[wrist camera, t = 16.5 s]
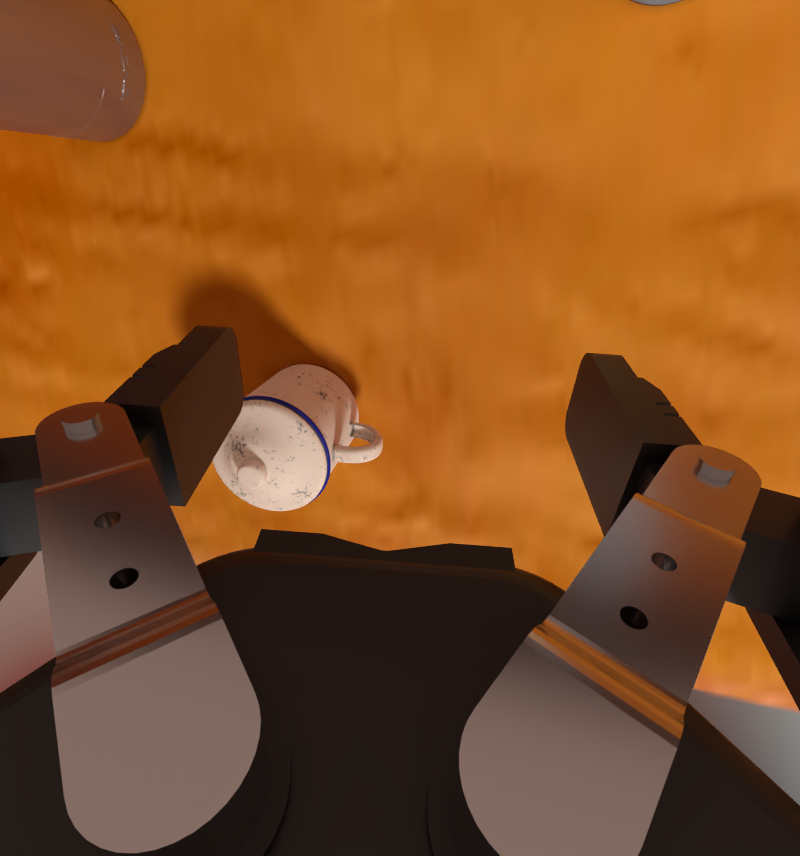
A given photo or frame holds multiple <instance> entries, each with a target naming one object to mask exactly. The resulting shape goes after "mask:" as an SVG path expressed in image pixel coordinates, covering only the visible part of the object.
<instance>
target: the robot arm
mask: <svg viewBox="0 0 800 856" xmlns="http://www.w3.org/2000/svg"><path fill="white" fill-rule="evenodd" d="M144 93H145V69H144V65H143V60H142V55H141V51H140V48H139V46H138V43H137V40H136V37H135V35H134V33H133V31H132V30H131V28H130V26H129V24H128V22H127V20H126V19H125V18H124V16H123V15H122V14H121V13H120V11H119V10H118V9H117V7H116V6H115V5H114V4H112V3H111V2H110V1H109V0H0V129H1V130H9V131H17V132H25V133H34V134H42V135H49V136H56V137H64V138H73V139H81V140H90V141H101V142H105V141H110V140H115V139H116V138H118V137H120V136H122V135H124V134H125V133H126V132H127V131H128V130H129V129H130V128H131V127H132V126H133V125H134V123H135V121H136V119H137V118H138V116H139V114H140V111H141V108H142V105H143V101H144ZM142 366H143V367H142V368H139V369H138V370H137V371H136V372H135V373H134V374H133V377H130V378H129V379H128V380H127V381H126V382H124V383H123V384H122V385H121V386H120V387H119V388H118V389H117V390H116V391H115V392H114V393H113V394H112V395H111V396H110V397H109V398H108V399H107V400H106V401H105V402H90V403H82V404H77V405H73V406H70V407H67V408H64V409H61V410H59V411H56V412H54V413H53V414H51V415H49V416H48V417H46V418H45V419H43V420H42V421H41V422H40V423H39V425H38V426H37V428H36V430H35V435H29V436H19V437H10V438H1V439H0V601H1V599H2V598H3V597H4V596H5V594H6V593H7V592H8V590H9V589H10V588H11V587H12V585H13V584H14V583H15V581H16V580H17V579H18V577H19V576H20V575H21V574H22V572H23V571H24V570H25V568H26V567H27V566H28V564H29V563H30V562H31V561H32V559H33V558H34V557H35V555H36V553H37V552H38V551H42V555H43V562H44V570H45V578H46V585H47V593H48V601H49V608H50V616H51V623H52V631H53V638H54V646H55V654H56V657H55V658H53V659H51V660H50V661H48V662H47V663H45V664H44V665H42V666H41V667H39V668H38V669H36V670H35V671H33V672H32V673H30V674H29V675H27V676H26V677H24V678H23V679H21V680H19V681H18V682H16V683H15V684H13V685H12V686H10V687H9V688H7V689H6V690H4V691H3V692H1V693H0V856H800V806H799V805H798V804H797V803H796V802H795V801H794V800H793V799H792V798H791V797H790V796H789V795H788V794H786V793H785V792H784V791H783V790H782V789H781V788H780V787H779V786H778V785H777V784H776V783H775V782H773V781H772V780H771V779H770V778H769V777H768V776H767V775H766V774H765V773H764V772H763V771H762V770H761V769H760V768H758V767H757V766H756V765H755V764H754V763H753V762H752V761H751V760H750V759H749V758H748V757H746V755H744V754H743V753H742V752H741V751H740V750H739V749H738V748H737V747H736V746H735V745H734V744H732V743H731V742H730V741H729V740H728V739H727V738H726V737H725V736H724V735H723V734H722V733H721V732H720V731H719V730H717V729H716V728H715V727H714V726H713V725H712V724H711V723H710V722H709V721H708V720H707V719H706V718H704V717H703V716H702V715H701V714H700V713H699V712H698V711H697V710H696V709H695V708H694V707H693V706H691V705H690V704H689V703H688V701H689V698H690V695H691V692H692V690H693V687H694V684H695V682H696V679H697V676H698V673H699V671H700V668H701V665H702V663H703V660H704V657H705V654H706V652H707V649H708V646H709V644H710V641H711V638H712V635H713V633H714V630H715V627H716V625H717V622H718V619H719V616H720V614H721V611H722V608H723V605H724V603H725V601H728V602H731V603H734V604H737V605H741V606H744V607H745V608H746V610H747V612H748V614H749V616H750V618H751V620H752V622H753V624H754V626H755V627H756V629H757V631H758V633H759V635H760V637H761V639H762V641H763V643H764V644H765V646H766V648H767V650H768V652H769V654H770V656H771V658H772V659H773V661H774V663H775V665H776V667H777V669H778V671H779V673H780V674H781V676H782V678H783V680H784V682H785V684H786V686H787V688H788V690H789V691H790V693H791V695H792V697H793V699H794V701H795V703H796V705H797V706H798V708H799V710H800V498H799V497H795V496H791V495H787V494H783V493H779V492H775V491H771V490H768V489H764V488H761V479H760V477H759V475H758V473H757V472H756V471H755V470H754V469H753V468H752V467H751V466H750V465H749V464H747V463H746V462H745V461H743V460H741V459H740V458H738V457H736V456H734V455H732V454H730V453H728V452H726V451H723V450H720V449H717V448H713V447H709V446H704V445H702V444H701V443H700V441H699V440H698V439H697V437H696V436H695V435H694V433H693V432H692V431H691V429H690V428H689V427H688V425H687V424H686V423H685V421H684V420H683V419H682V418H681V417H679V414H678V412H677V411H676V410H675V408H674V407H673V406H671V403H670V402H669V400H668V399H667V398H666V396H665V395H664V394H663V392H662V391H661V390H660V389H658V388H657V387H655V386H654V385H652V384H651V383H649V382H648V381H647V380H645V379H644V378H638V377H637V376H636V374H635V373H634V372H633V370H632V369H631V367H630V366H629V365H628V363H627V362H626V360H625V359H624V358H623V356H621V355H610V354H595V353H587V354H585V355H584V357H583V359H582V361H581V364H580V367H579V371H578V374H577V378H576V381H575V385H574V389H573V392H572V396H571V399H570V403H569V407H568V410H567V414H566V422H565V432H566V438H567V441H568V443H569V446H570V448H571V451H572V454H573V456H574V459H575V461H576V464H577V467H578V469H579V472H580V475H581V477H582V480H583V482H584V485H585V488H586V490H587V493H588V495H589V498H590V501H591V503H592V506H593V509H594V511H595V514H596V516H597V519H598V522H599V524H600V527H601V529H602V532H603V535H604V538H603V540H602V541H601V543H600V544H599V545H598V547H597V548H596V550H595V551H594V552H593V554H592V555H591V557H590V558H589V559H588V561H587V562H586V564H585V565H584V567H583V568H582V569H581V571H580V572H579V574H578V575H577V576H576V578H575V579H574V581H573V582H572V583H571V585H570V586H569V588H568V589H567V590H566V591H564V590H563V589H561V588H559V587H558V586H556V585H554V584H553V583H551V582H549V581H547V580H545V579H543V578H541V577H539V576H537V575H534V574H532V573H529V572H527V571H524V570H521V569H518V568H515V565H514V559H513V553H512V548H505V547H492V546H478V545H465V544H452V543H449V544H441V545H433V546H425V547H417V548H409V549H401V550H393V551H382V550H378V549H374V548H371V547H367V546H364V545H360V544H357V543H353V542H350V541H346V540H343V539H339V538H336V537H332V536H329V535H325V534H319V533H306V532H293V531H279V530H266V529H261V532H260V534H259V537H258V539H257V542H256V544H255V547H254V548H250V549H244V550H240V551H235V552H231V553H228V554H225V555H221V556H218V557H215V558H213V559H211V560H208V561H206V562H203V563H201V564H199V565H197V566H196V564H195V562H194V560H193V558H192V555H191V553H190V551H189V548H188V546H187V544H186V541H185V539H184V537H183V535H182V532H181V530H180V528H179V525H178V523H177V521H176V518H175V516H174V514H173V511H172V509H171V507H170V505H173V506H186V504H187V502H188V501H189V499H190V497H191V496H192V494H193V492H194V491H195V489H196V487H197V486H198V484H199V482H200V480H201V479H202V477H203V475H204V474H205V472H206V470H207V469H208V467H209V465H210V464H211V462H212V460H213V459H214V457H215V455H216V453H217V452H218V450H219V448H220V447H221V445H222V443H223V442H224V440H225V438H226V437H227V435H228V433H229V432H230V430H231V428H232V426H233V425H234V423H235V421H236V420H237V418H238V416H239V415H240V412H241V410H242V405H243V397H244V391H243V383H242V375H241V368H240V361H239V354H238V347H237V340H236V336H235V333H234V331H233V329H232V328H227V327H212V326H196V327H195V328H194V329H193V330H192V331H191V332H190V333H189V334H188V335H187V336H186V337H185V338H184V339H183V340H182V341H181V342H180V343H179V344H178V345H172V346H170V347H168V348H166V349H164V350H162V351H160V352H157V353H155V354H154V355H153V356H152V357H151V358H150V359H149V360H148V361H146V362H145V363H144V364H143V365H142Z"/></svg>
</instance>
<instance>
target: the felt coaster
mask: <svg viewBox="0 0 800 856" xmlns="http://www.w3.org/2000/svg"><path fill="white" fill-rule="evenodd" d="M631 1H633V2H635V3H639V4H643V5H650V6H660V5H668V4H673V3H676V2H679V1H682V0H631Z"/></svg>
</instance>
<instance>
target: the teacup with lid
mask: <svg viewBox="0 0 800 856" xmlns="http://www.w3.org/2000/svg"><path fill="white" fill-rule="evenodd" d="M354 437H356V438H361V439H365V440H367V441H369V442H370V444H368V445H365V446H360V447H348V446H349V445H350V443H351V442H352V440H353V438H354ZM382 446H383V440H382V436H381V434H380V433H379V431H378V430H377V429H375V428H374V427H372V426H369V425H366V424H362V423H359V412H358V407H357V403H356V401H355V398H354V396H353V394H352V392H351V391H350V389H349V388H348V386H347V385H346V384H345V383H344V382H343V381H342V380H341V379H340V378H339V377H338V376H336V375H335V374H334V373H332V372H330V371H328V370H326V369H324V368H322V367H319V366H315V365H309V364H298V365H293V366H289V367H287V368H284V369H283V370H281V371H279V372H278V373H277V374H275V375H274V376H273V377H271V378H270V379H269V380H267V381H266V382H265V383H263V384H262V385H261V386H259V387H258V388H257V389H255V390H254V391H253V392H251V393H250V394H249V395H247V396H246V397H245V398H243V405H242V410H241V412H240V415H239V416H238V418H237V420H236V421H235V423H234V425H233V426H232V428H231V430H230V432H229V433H228V435H227V437H226V438H225V440H224V442H223V443H222V445H221V447H220V448H219V450H218V452H217V453H216V455H215V457H214V459H213V460H212V461H213V464H214V466H215V469H216V471H217V473H218V474H219V476H220V478H221V479H222V480H223V482H224V483H225V484H226V485H227V487H228V488H229V489H230V490H231V491H232V492H234V493H235V494H236V495H237V496H238V497H240V498H241V499H243V500H244V501H246V502H248V503H250V504H252V505H254V506H256V507H259V508H262V509H266V510H272V511H288V510H293V509H297V508H300V507H302V506H304V505H306V504H308V503H310V502H312V501H313V500H314V499H316V498H317V497H318V496H319V495H320V493H321V492H322V491H323V489H324V488H325V486H326V484H327V482H328V479H329V475H330V473H331V471H332V470H333V468H334V467H335V465H336V464H337V462H344V463H363V462H367V461H371V460H373V459H375V458H376V457H378V456H379V454H380V453H381V451H382Z"/></svg>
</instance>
